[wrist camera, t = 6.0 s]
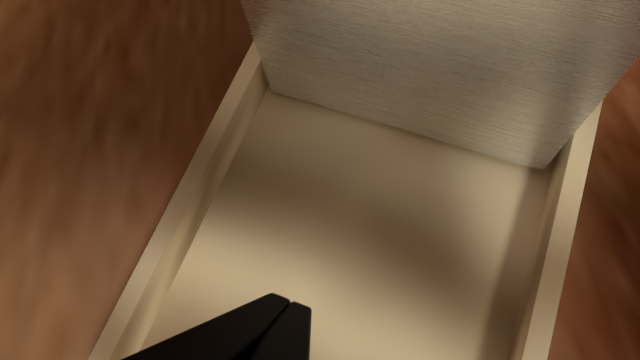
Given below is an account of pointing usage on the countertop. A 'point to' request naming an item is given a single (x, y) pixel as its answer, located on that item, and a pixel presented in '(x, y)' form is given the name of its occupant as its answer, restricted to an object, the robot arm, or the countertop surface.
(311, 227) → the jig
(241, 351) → the robot arm
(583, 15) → the white square slab
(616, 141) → the countertop surface
